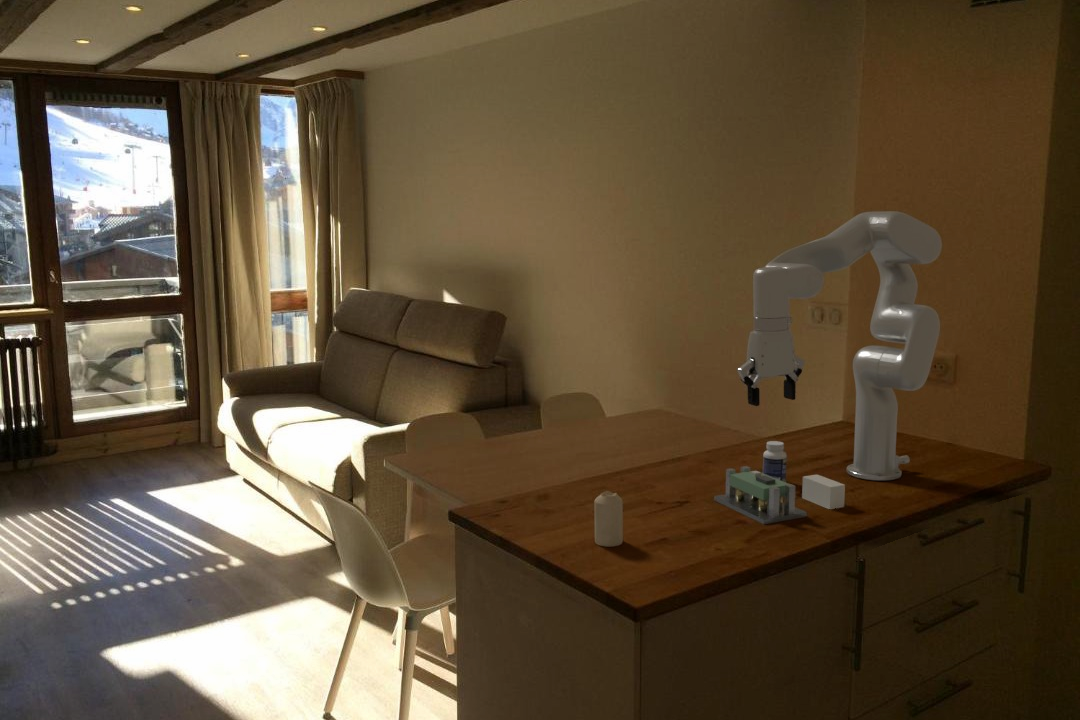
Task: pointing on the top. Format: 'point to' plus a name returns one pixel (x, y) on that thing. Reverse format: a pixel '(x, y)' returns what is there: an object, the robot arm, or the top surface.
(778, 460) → the pill bottle
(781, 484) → the board
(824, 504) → the block
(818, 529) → the top surface
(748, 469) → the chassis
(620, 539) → the candle
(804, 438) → the top surface
